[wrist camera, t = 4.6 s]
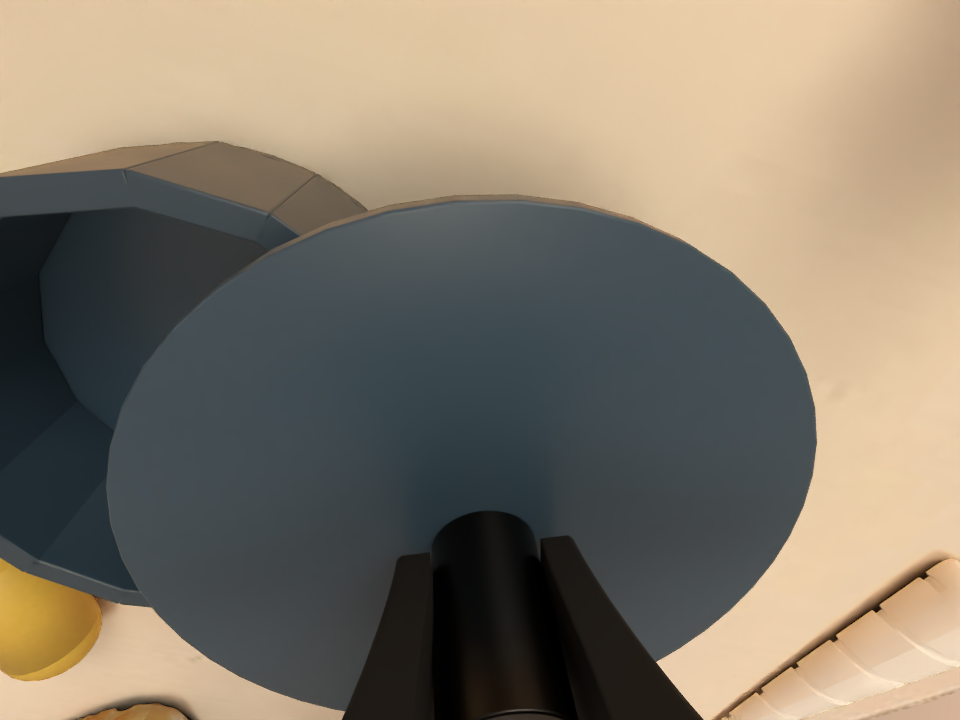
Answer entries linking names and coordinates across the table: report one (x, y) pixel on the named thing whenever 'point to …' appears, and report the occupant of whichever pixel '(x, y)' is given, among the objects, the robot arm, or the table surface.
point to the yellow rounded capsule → (43, 625)
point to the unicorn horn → (871, 653)
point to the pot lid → (459, 446)
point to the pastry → (140, 713)
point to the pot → (114, 319)
